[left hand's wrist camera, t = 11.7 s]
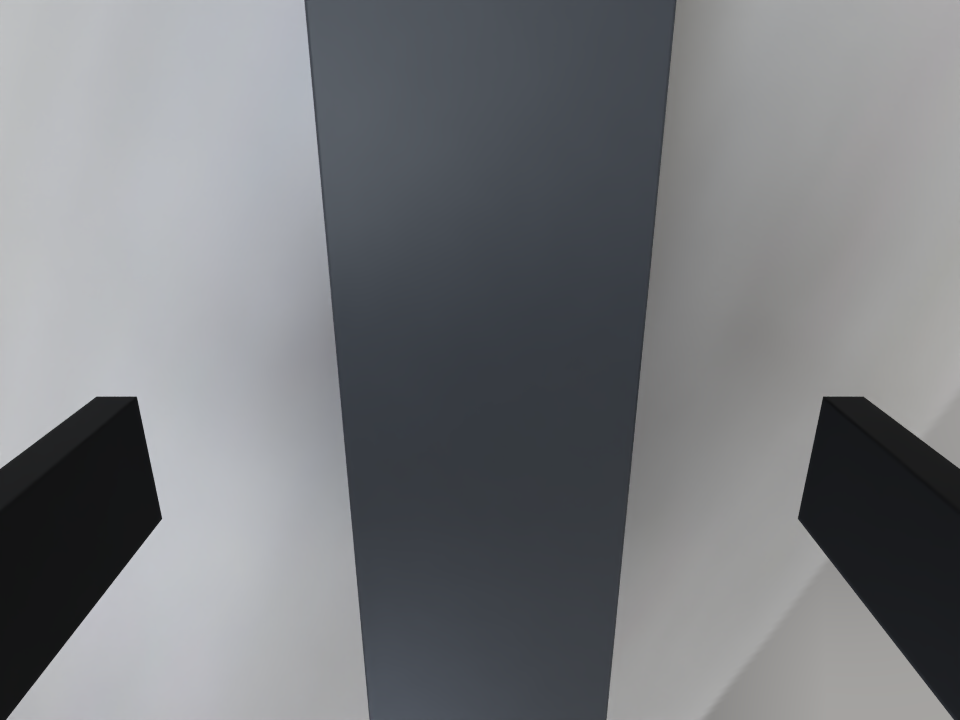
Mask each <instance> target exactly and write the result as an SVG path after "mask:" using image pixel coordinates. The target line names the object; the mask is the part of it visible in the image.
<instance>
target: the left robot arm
mask: <svg viewBox="0 0 960 720" xmlns="http://www.w3.org/2000/svg"><path fill="white" fill-rule="evenodd" d="M161 519H162V516H161V511H160V506H159V501H158V497H157V492H156V487H155V482H154V477H153V473H152V468H151V463H150V458H149V453H148V449H147V444H146V439H145V434H144V429H143V425H142V420H141V415H140V410H139V405H138V401H137V397H96V398H94V399H93V400H92V401H90V402H89V403H88V404H86V405H85V406H84V407H82V408H81V409H80V410H78V411H77V412H76V413H74V414H73V415H72V416H70V417H69V418H68V419H66V420H65V421H64V422H62V423H61V424H60V425H58V426H57V427H56V428H54V429H53V430H52V431H50V432H49V433H48V434H46V435H45V436H44V437H42V438H41V439H40V440H38V441H37V442H36V443H34V444H33V445H32V446H30V447H29V448H28V449H26V450H25V451H24V452H22V453H21V454H20V455H18V456H17V457H16V458H14V459H13V460H12V461H10V462H9V463H8V464H6V465H5V466H4V467H2V468H1V469H0V720H6V719H7V718H8V716H9V715H10V714H11V713H12V711H13V710H14V709H15V707H16V706H17V705H18V704H19V702H20V701H21V700H22V698H23V697H24V696H25V695H26V693H27V692H28V691H29V689H30V688H31V687H32V686H33V684H34V683H35V682H36V680H37V679H38V678H39V677H40V675H41V674H42V673H43V671H44V670H45V669H46V668H47V666H48V665H49V664H50V662H51V661H52V660H53V658H54V657H55V656H56V655H57V653H58V652H59V651H60V649H61V648H62V647H63V646H64V644H65V643H66V642H67V640H68V639H69V638H70V637H71V635H72V634H73V633H74V631H75V630H76V629H77V628H78V626H79V625H80V624H81V622H82V621H83V620H84V619H85V617H86V616H87V615H88V613H89V612H90V611H91V610H92V608H93V607H94V606H95V604H96V603H97V602H98V601H99V599H100V598H101V597H102V595H103V594H104V593H105V592H106V590H107V589H108V588H109V586H110V585H111V584H112V583H113V581H114V580H115V579H116V577H117V576H118V575H119V574H120V572H121V571H122V570H123V568H124V567H125V566H126V564H127V563H128V562H129V561H130V559H131V558H132V557H133V555H134V554H135V553H136V552H137V550H138V549H139V548H140V546H141V545H142V544H143V543H144V541H145V540H146V539H147V537H148V536H149V535H150V534H151V532H152V531H153V530H154V528H155V527H156V526H157V525H158V523H159V522H160V521H161ZM798 519H799V521H800V522H801V523H802V525H803V526H804V527H805V528H806V530H807V531H808V532H809V534H810V535H811V536H812V537H813V539H814V540H815V541H816V543H817V544H818V545H819V546H820V548H821V549H822V550H823V552H824V553H825V554H826V555H827V557H828V558H829V559H830V561H831V562H832V563H833V564H834V566H835V567H836V568H837V570H838V571H839V572H840V573H841V575H842V576H843V577H844V579H845V580H846V581H847V582H848V584H849V585H850V586H851V588H852V589H853V590H854V592H855V593H856V594H857V595H858V597H859V598H860V599H861V601H862V602H863V603H864V604H865V606H866V607H867V608H868V610H869V611H870V612H871V613H872V615H873V616H874V617H875V619H876V620H877V621H878V622H879V624H880V625H881V626H882V628H883V629H884V630H885V631H886V633H887V634H888V635H889V637H890V638H891V639H892V640H893V642H894V643H895V644H896V646H897V647H898V648H899V649H900V651H901V652H902V653H903V655H904V656H905V657H906V658H907V660H908V661H909V662H910V664H911V665H912V666H913V667H914V669H915V670H916V671H917V673H918V674H919V675H920V676H921V678H922V679H923V680H924V682H925V683H926V684H927V685H928V687H929V688H930V689H931V691H932V692H933V693H934V695H935V696H936V697H937V698H938V700H939V701H940V702H941V704H942V705H943V706H944V707H945V709H946V710H947V711H948V713H949V714H950V715H951V716H952V718H953V719H954V720H960V469H959V468H958V467H956V466H955V465H954V464H952V463H951V462H950V461H948V460H947V459H946V458H944V457H943V456H942V455H940V454H939V453H938V452H936V451H935V450H934V449H932V448H931V447H930V446H928V445H927V444H926V443H924V442H923V441H922V440H920V439H919V438H918V437H916V436H915V435H914V434H912V433H911V432H910V431H908V430H907V429H906V428H904V427H903V426H902V425H900V424H899V423H898V422H896V421H895V420H894V419H892V418H891V417H890V416H888V415H887V414H886V413H884V412H883V411H882V410H880V409H879V408H878V407H876V406H875V405H874V404H872V403H871V402H870V401H868V400H867V399H866V398H864V397H823V401H822V405H821V410H820V415H819V420H818V425H817V429H816V434H815V439H814V444H813V449H812V453H811V458H810V463H809V468H808V473H807V477H806V482H805V487H804V492H803V497H802V501H801V506H800V511H799V516H798Z"/></svg>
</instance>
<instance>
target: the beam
mask: <svg viewBox="0 0 960 720" xmlns="http://www.w3.org/2000/svg"><path fill="white" fill-rule="evenodd" d="M675 10H676V0H305V11H306V22H307V33H308V44H309V55H310V66H311V77H312V88H313V99H314V110H315V122H316V133H317V144H318V155H319V166H320V177H321V188H322V199H323V210H324V221H325V232H326V243H327V254H328V265H329V276H330V287H331V299H332V310H333V321H334V332H335V343H336V354H337V365H338V376H339V387H340V398H341V409H342V420H343V431H344V442H345V453H346V464H347V476H348V487H349V498H350V509H351V520H352V531H353V542H354V553H355V564H356V575H357V586H358V597H359V608H360V619H361V630H362V641H363V653H364V664H365V675H366V686H367V697H368V708H369V719H370V720H606V718H607V708H608V698H609V687H610V677H611V667H612V656H613V646H614V636H615V626H616V615H617V605H618V595H619V585H620V574H621V564H622V554H623V544H624V533H625V523H626V513H627V502H628V492H629V482H630V472H631V461H632V451H633V441H634V431H635V420H636V410H637V400H638V390H639V379H640V369H641V359H642V349H643V338H644V328H645V318H646V307H647V297H648V287H649V277H650V266H651V256H652V246H653V236H654V225H655V215H656V205H657V195H658V184H659V174H660V164H661V153H662V143H663V133H664V123H665V112H666V102H667V92H668V82H669V71H670V61H671V51H672V41H673V30H674V20H675Z"/></svg>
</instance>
